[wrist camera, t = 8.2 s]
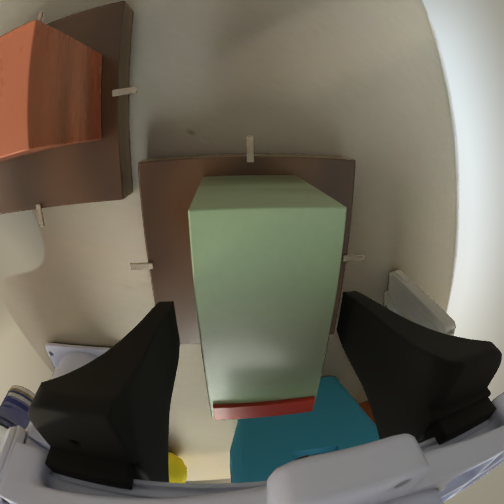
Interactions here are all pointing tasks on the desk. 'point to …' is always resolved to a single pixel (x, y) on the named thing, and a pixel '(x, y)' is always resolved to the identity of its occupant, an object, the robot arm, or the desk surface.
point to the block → (299, 434)
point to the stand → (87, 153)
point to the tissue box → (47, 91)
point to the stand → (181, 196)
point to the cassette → (415, 304)
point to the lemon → (176, 469)
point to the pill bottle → (15, 409)
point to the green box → (264, 290)
